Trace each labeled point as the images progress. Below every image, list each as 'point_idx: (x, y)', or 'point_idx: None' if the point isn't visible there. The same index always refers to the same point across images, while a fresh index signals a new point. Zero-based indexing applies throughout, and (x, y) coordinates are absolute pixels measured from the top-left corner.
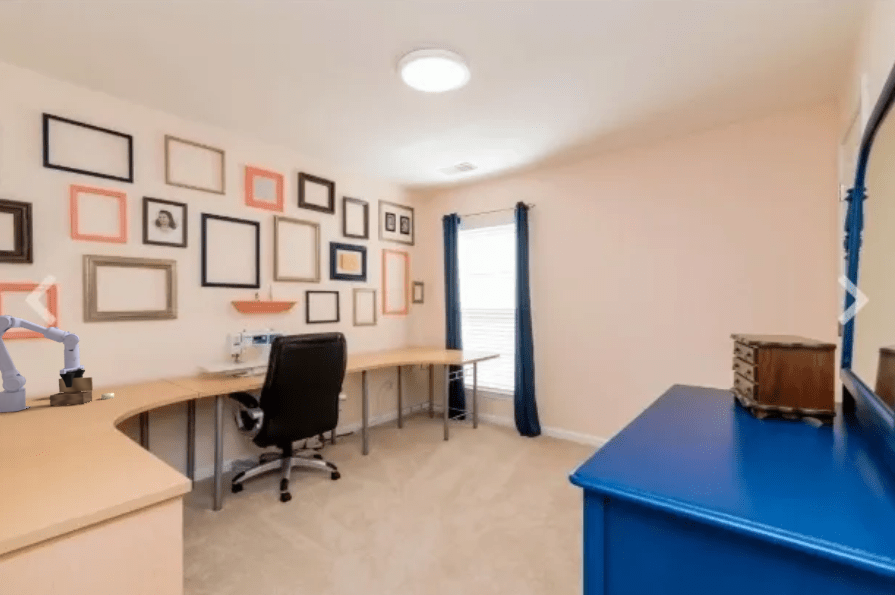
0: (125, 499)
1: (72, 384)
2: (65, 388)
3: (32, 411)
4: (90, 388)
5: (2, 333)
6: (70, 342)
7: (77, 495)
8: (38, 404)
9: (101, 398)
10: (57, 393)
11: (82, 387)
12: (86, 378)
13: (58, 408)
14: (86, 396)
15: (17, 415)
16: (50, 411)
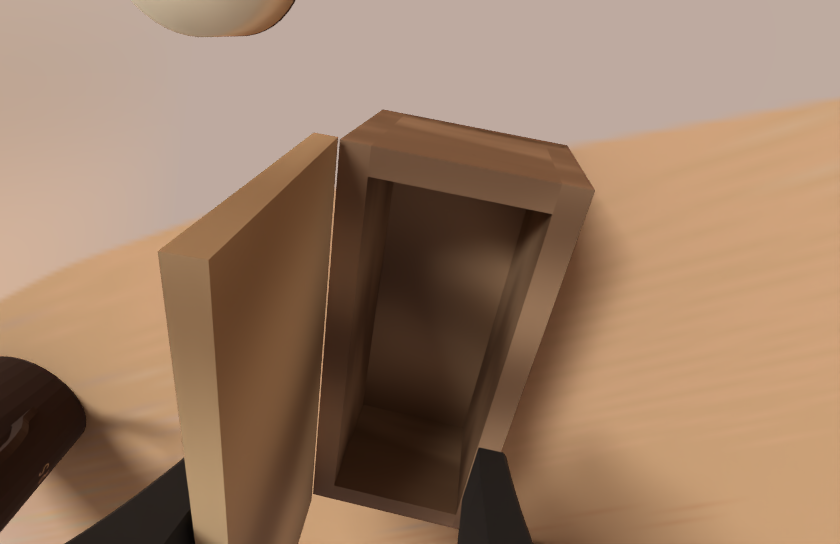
0: None
1: (482, 483)
2: (301, 498)
3: (680, 488)
4: (322, 177)
5: None
6: None
7: None
8: (351, 513)
9: (270, 22)
10: (356, 501)
11: (308, 317)
12: (226, 377)
13: (680, 337)
14: (504, 154)
15: (807, 536)
16: (830, 361)
